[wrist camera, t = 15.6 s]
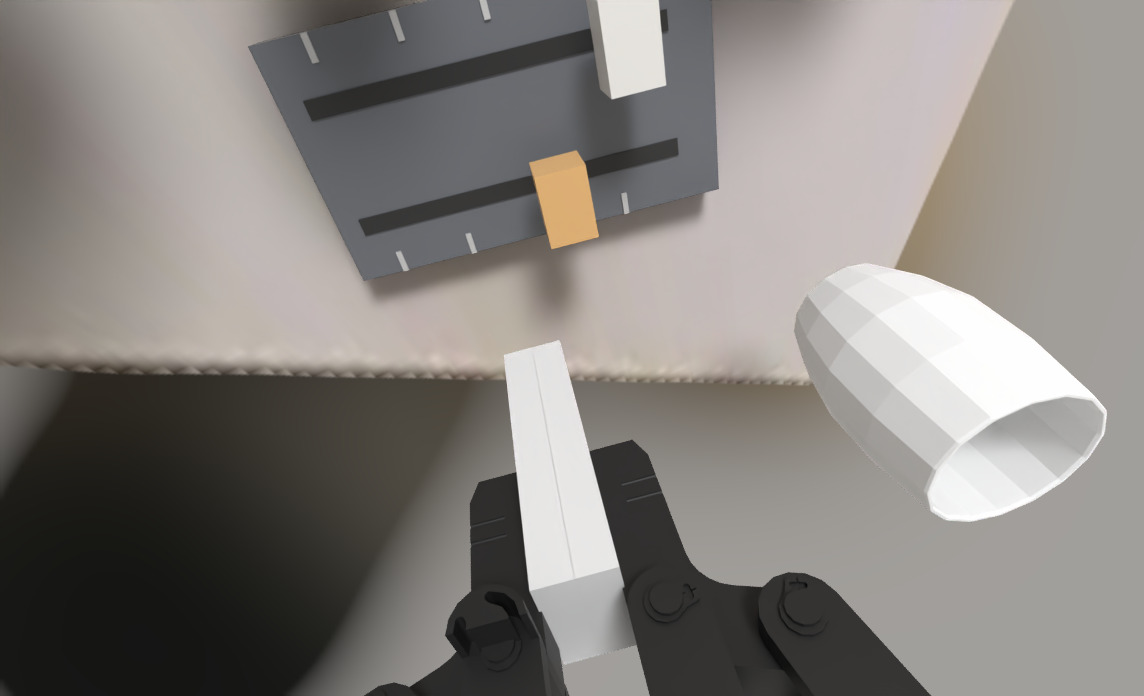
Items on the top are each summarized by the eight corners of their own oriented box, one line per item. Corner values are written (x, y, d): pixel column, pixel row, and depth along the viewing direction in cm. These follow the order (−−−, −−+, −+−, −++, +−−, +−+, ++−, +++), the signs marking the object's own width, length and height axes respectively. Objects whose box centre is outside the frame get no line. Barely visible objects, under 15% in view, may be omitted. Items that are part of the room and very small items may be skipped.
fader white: (592, 82, 26) (611, 99, 23) (578, -4, 24) (597, 0, 21) (639, 70, 26) (666, 85, 23) (629, -17, 24) (657, -15, 21)
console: (369, 267, 32) (364, 283, 31) (261, 39, 25) (245, 44, 23) (706, 179, 33) (719, 191, 31) (692, -70, 25) (709, -73, 24)
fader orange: (541, 217, 30) (551, 249, 26) (525, 151, 28) (533, 177, 24) (583, 206, 30) (598, 237, 26) (570, 140, 28) (585, 164, 24)
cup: (733, 297, 38) (945, 555, 21) (677, 227, 34) (881, 474, 17) (822, 228, 36) (1136, 454, 19) (774, 146, 32) (1111, 338, 15)
